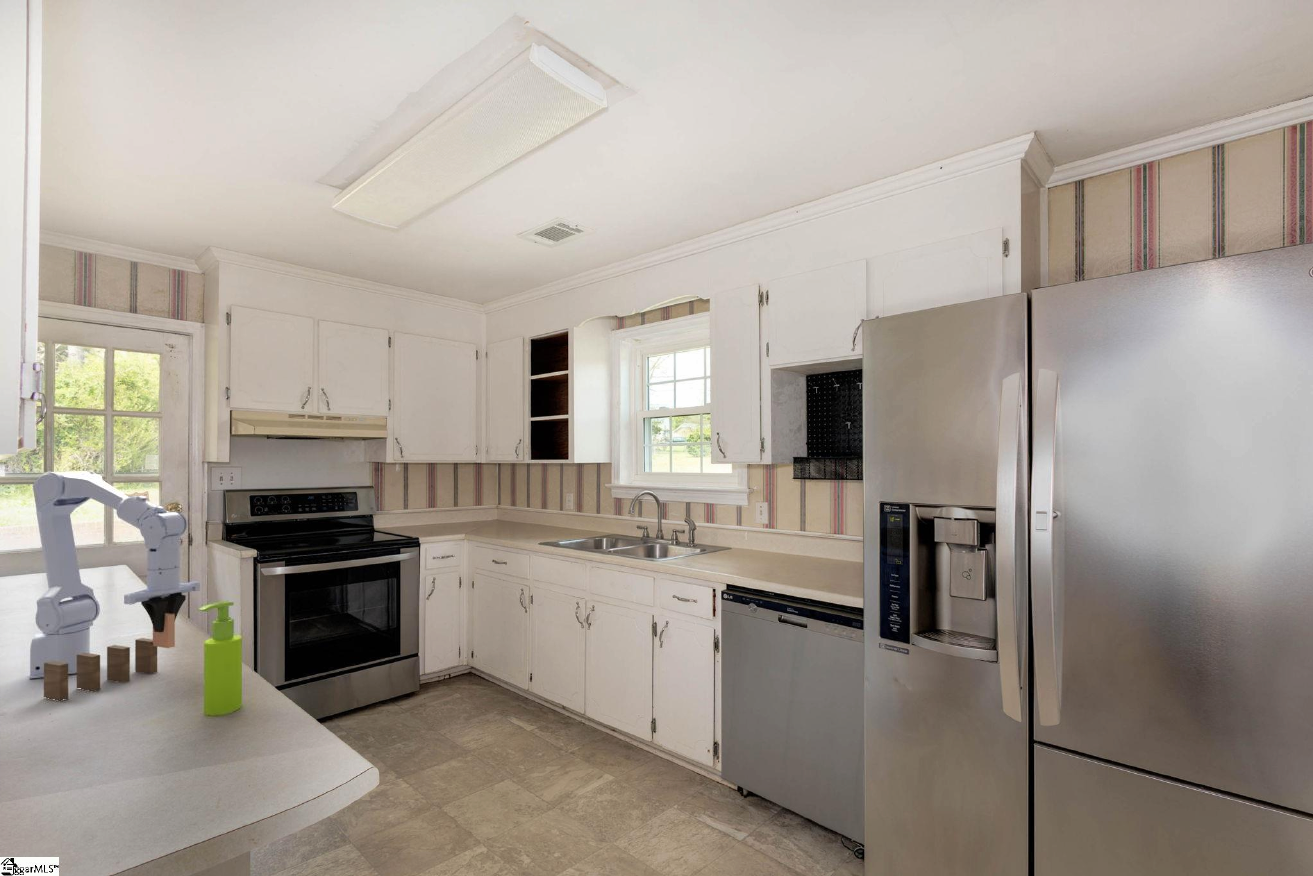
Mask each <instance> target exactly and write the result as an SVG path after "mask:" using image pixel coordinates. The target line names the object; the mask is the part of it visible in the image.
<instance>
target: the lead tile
mask: <svg viewBox="0 0 1313 876" xmlns="http://www.w3.org/2000/svg"><path fill="white" fill-rule="evenodd" d="M175 625H176V620H175V614H170V613H165V624H164V631H163V632H154V628H153V627H152V639H153V646H156V647H157V648H164V649H170V648H173V647H174V648H175V647H176V643H175V642H176V641H175V639H176V638H175V635H176V634H175V633H176V631H175V629H176V626H175Z"/></svg>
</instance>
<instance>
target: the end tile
mask: <svg viewBox="0 0 1313 876" xmlns="http://www.w3.org/2000/svg"><path fill="white" fill-rule="evenodd" d="M44 697H46V698H49V699H55V700H58V701H60V702H62V701H61V700H63V699H67V700H69V674H68V663H64V662H58V661H49V662H45V663H44V677H43V698H44ZM58 701H57V702H58Z"/></svg>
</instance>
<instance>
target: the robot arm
mask: <svg viewBox="0 0 1313 876" xmlns="http://www.w3.org/2000/svg"><path fill="white" fill-rule="evenodd" d="M32 490H33V491H32V492H33V496H34V497H33V498H34V502H35V510H36V512H35V513H36V518H37V525H38V530H39V536H40V537H39V538H40V543H41V549H42V555H43V561H44V568H45V573H46V580H47V585H48V590H47V591H46V592H44V594H42V595H41V596H40V597H39V598H38V599H37V600H36V608H37V609H36V613H35V619H34V620H35V623H36V627H37V628H38V629H39V630H40V631H41V632H39V633H36V634H34V636H33V637H32V640H31V643H30V649H29V652H30V653H29V655H30V657H29V658H30V659H29V660H30V661H29V662H30V663H29V665H30V667H29V675H28V679H29V678H31V679H39V678H44V663H45V662H49V661H58V662H64V663H68V675H71V674H77V654H81V653H90V652H91V649H90V648H91V646H90V645H91V643H90V642H91V641H90V638H91V635H90V634H91V632H90V631H91V629H90V627H93V626H94V622H95V621H96V620H97V618H98V617H99V615H100V613H101V607H100V603H99V601H98V600H97V598H96V596H95V594H94V593H95V592H94V589H93V588H91V587H90V586H88V585H85V584H84V583H82V580H81V574H80V567H79V566H80V565H79V561H78V555H77V549H76V543H75V537H74V531H73V526H72V519H71V514H72V513H73V512H74V510H76V509H77V508H79V507H81V506H82V505H83V504H85V503H86V502H88V501H90V500H91V499H92V500H94V501H96V502H98V503H100V504H102V505H104V506H106V507H109V508H111V509H114V510H116V516H117V517H118V518H119V519H120V520H122V521H123V522H125V523H127V524H129V525H131V526H133V527H134V528H137V529H139V531H140V535H141V536H142V537H143V539H144V546H145V548H146V549H147V554H146V555H147V556H146V557H147V558H146V559H147V560H146V561H147V562H146V563H147V570H146V571H147V574H146V577H147V583H146V584H147V585H146V586H147V587H146V589H143V590H139V591H135V592H131V593H127V594H124V595H123V605H135V604H137V603H141V604H140V605H142V607H143V609H145V611H146V613H147V614H148V616H149V619H150V621H151V624H152V629H153V628H154V632H163V631H164V624H165V613H170V614H175V621H176V619H177V616H178V613H179V611H180V609H181V608H182V607H183V604H184V602H185V601H186V597H187V596H186V595H185V593H190V592H191V593H192V592H198V591H199V592H200V591H201V582H200V581H190V582H181V536H182V535H183V534H184V533H185V532H186V530H187V528H188V527H187V526H188V522H187V521H188V520H187V518H186V517H185V515H184V514H183V513H181V512H180V511H179V510H170V511H168V510H165V508H164V507H163V506H161V505H160V506H159V505H156V504H154V503H152V502H150V501H149V500H148V497H147V496H144V495H131V496H128V495H127V494H125V493H124V492H122V491H120V490H119V489H117V488H115V487H114V486H113V485H111V484H110V483H108V482H106V481H105V480H104V478H103V476H102V475H101V474H98V473H95V472H94V471H93V470H82V471H80V470H79V471H55V472H54V471H47V472H43V473H42V474H41V475H39V477H38V478H37V479H36V480H35V481H34V483H33V484H32ZM68 598H70V599H68ZM66 599H67V600H66ZM62 600H63V601H62Z"/></svg>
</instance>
